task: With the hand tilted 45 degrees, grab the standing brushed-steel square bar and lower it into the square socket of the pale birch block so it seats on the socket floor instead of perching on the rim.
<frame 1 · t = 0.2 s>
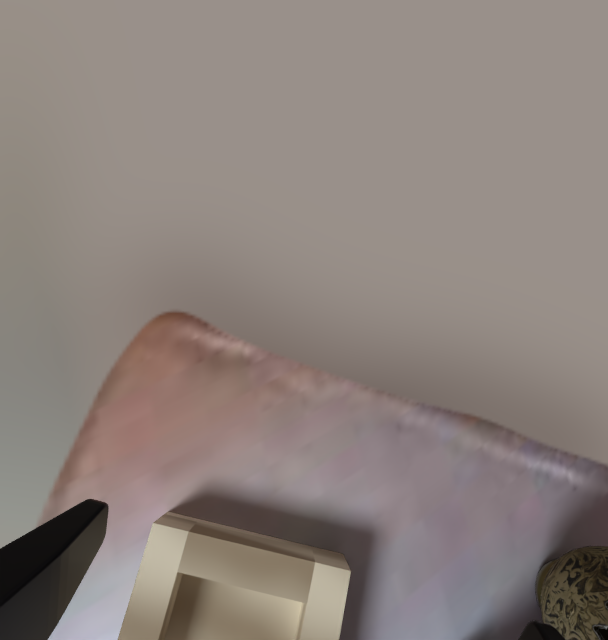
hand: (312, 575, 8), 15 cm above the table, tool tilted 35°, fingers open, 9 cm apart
socket block: (231, 632, 21), on the table
cup: (558, 588, 22), on the table
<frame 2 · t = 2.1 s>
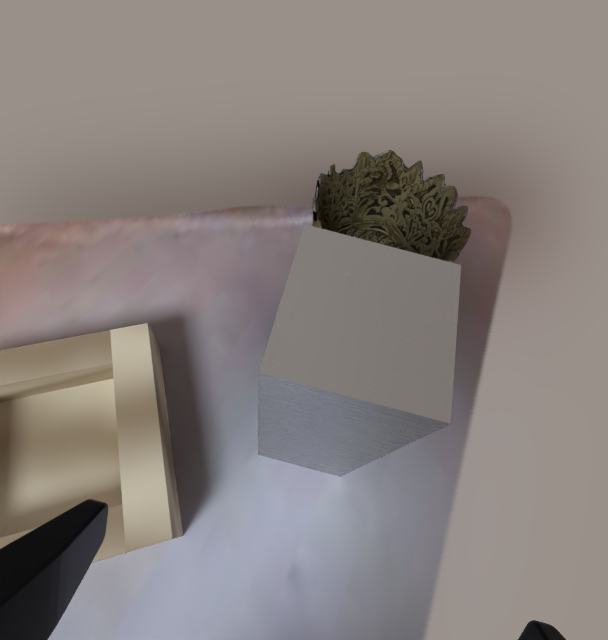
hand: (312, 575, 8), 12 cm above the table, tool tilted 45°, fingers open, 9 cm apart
steel bar: (308, 423, 21), on the table
socket block: (68, 456, 20), on the table
cup: (354, 294, 25), on the table
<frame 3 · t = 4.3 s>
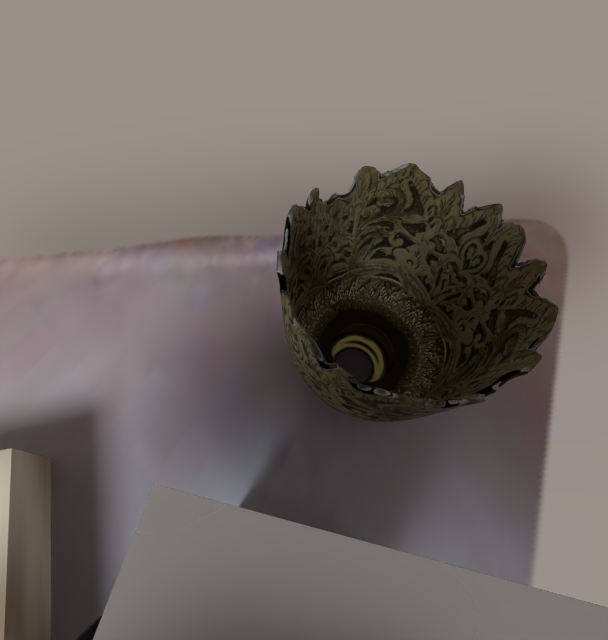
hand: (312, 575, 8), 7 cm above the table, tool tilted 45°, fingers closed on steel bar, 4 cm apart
steel bar: (279, 596, 13), on the table, touching gripper
cup: (352, 367, 18), on the table
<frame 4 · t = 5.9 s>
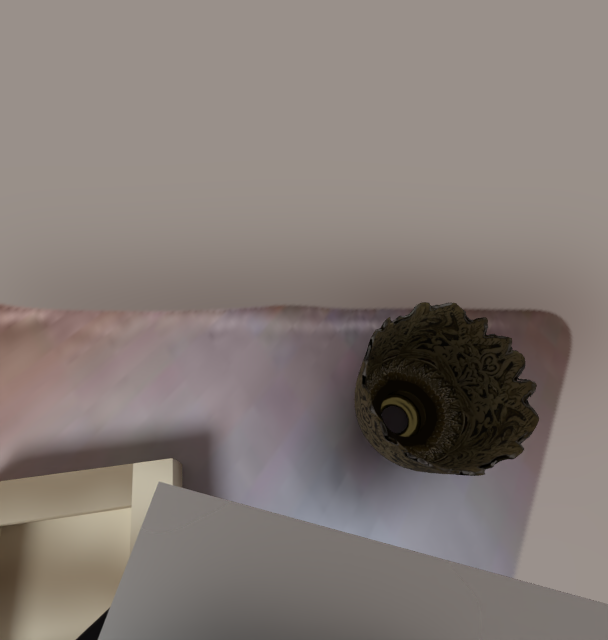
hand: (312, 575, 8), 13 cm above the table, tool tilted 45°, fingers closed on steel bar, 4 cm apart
steel bar: (280, 595, 13), point 7 cm above the table, touching gripper
socket block: (76, 590, 19), on the table
cup: (393, 420, 24), on the table
when the fingers open (9 cm above the table, at t = 7.9 s): steel bar drops 2 cm, resting on socket block.
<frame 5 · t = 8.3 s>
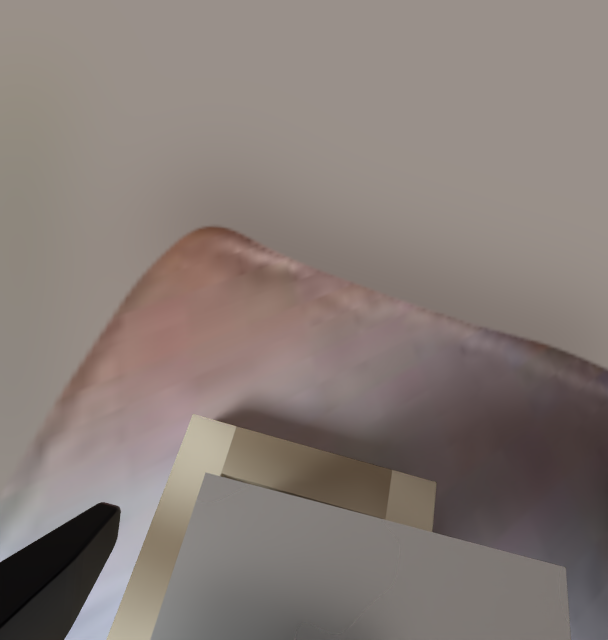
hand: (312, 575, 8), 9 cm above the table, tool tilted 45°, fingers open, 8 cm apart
steel bar: (279, 584, 15), point 1 cm above the table, touching socket block
socket block: (276, 582, 16), on the table, touching steel bar
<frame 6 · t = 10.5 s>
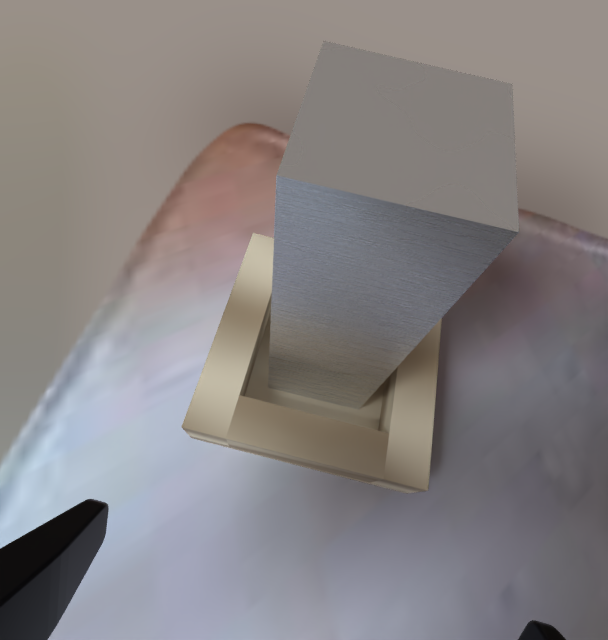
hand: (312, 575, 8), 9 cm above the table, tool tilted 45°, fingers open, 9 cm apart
steel bar: (322, 356, 20), point 1 cm above the table, touching socket block
socket block: (320, 367, 20), on the table, touching steel bar
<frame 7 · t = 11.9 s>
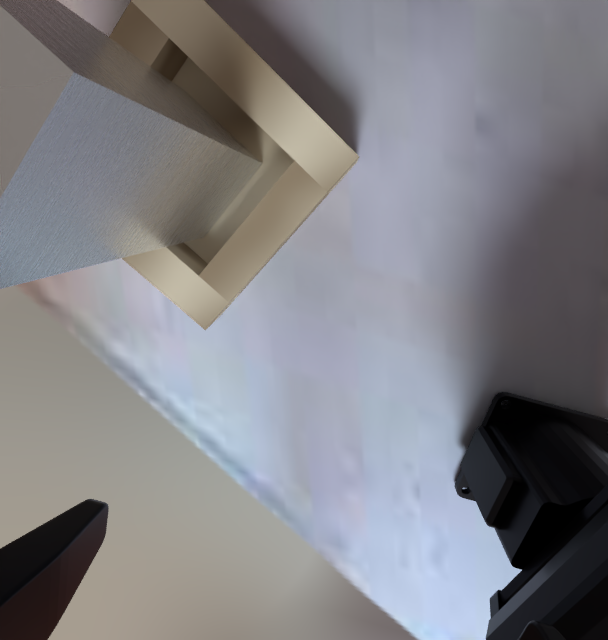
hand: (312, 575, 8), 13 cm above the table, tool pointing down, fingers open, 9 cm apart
steel bar: (195, 168, 18), point 1 cm above the table, touching socket block
socket block: (208, 171, 19), on the table, touching steel bar
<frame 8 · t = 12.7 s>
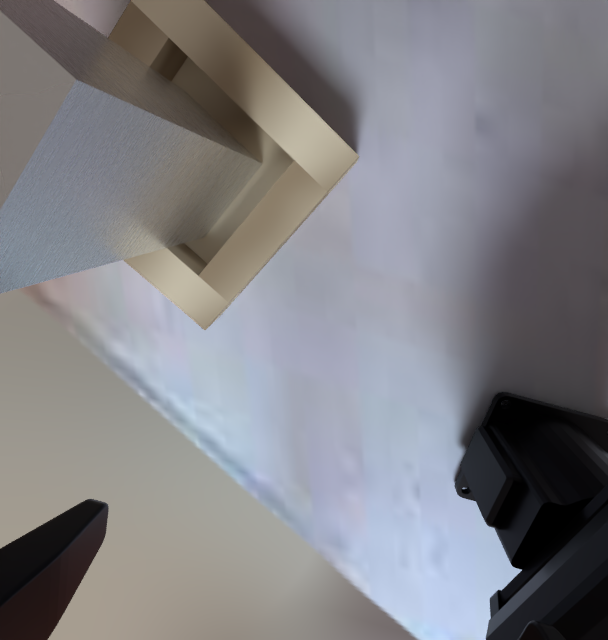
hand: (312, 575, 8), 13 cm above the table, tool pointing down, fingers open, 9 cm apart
steel bar: (195, 168, 18), point 1 cm above the table, touching socket block
socket block: (208, 171, 19), on the table, touching steel bar
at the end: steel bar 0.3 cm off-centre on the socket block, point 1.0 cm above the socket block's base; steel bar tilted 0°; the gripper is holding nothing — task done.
